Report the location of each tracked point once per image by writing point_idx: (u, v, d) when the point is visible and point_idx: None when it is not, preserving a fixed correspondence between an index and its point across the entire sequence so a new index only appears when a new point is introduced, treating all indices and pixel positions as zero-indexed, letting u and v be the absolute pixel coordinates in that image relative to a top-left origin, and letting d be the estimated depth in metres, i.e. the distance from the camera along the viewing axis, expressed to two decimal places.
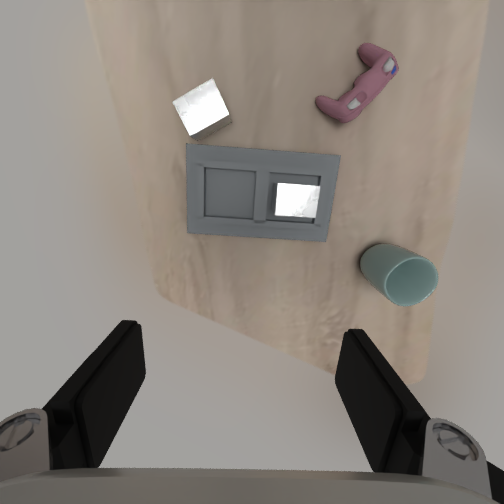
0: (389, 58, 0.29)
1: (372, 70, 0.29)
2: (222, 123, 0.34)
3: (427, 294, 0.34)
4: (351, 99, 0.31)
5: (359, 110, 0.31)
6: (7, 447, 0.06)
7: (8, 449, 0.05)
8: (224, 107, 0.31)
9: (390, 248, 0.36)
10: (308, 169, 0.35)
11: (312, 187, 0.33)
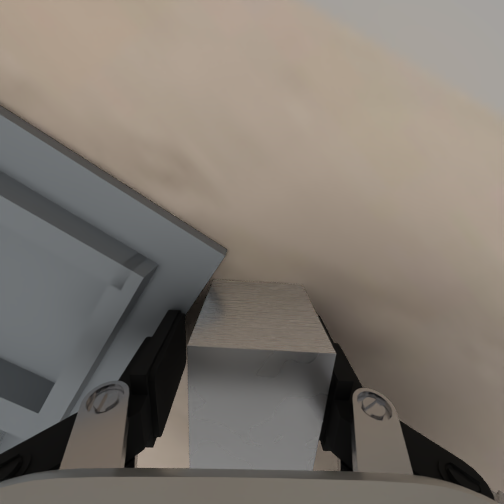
0: None
1: None
2: None
3: None
4: None
5: None
6: (99, 409, 0.07)
7: (99, 412, 0.06)
8: None
9: None
10: None
11: None
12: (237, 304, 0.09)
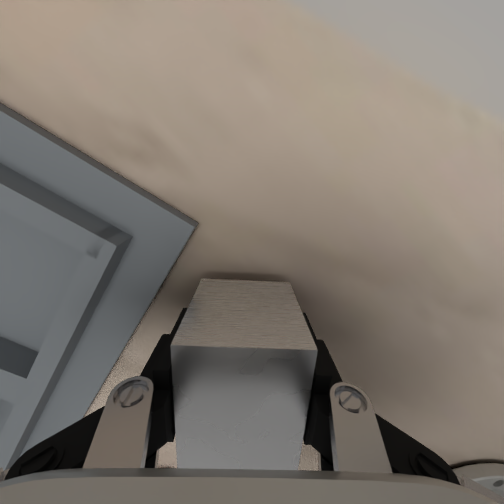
0: None
1: None
2: None
3: None
4: None
5: None
6: (125, 402, 0.07)
7: (124, 406, 0.07)
8: None
9: None
10: None
11: None
12: (223, 303, 0.10)
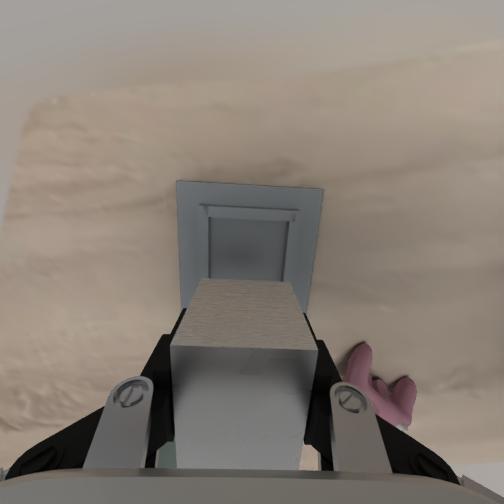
0: (406, 428, 0.26)
1: (398, 416, 0.25)
2: None
3: None
4: (371, 400, 0.25)
5: None
6: (124, 403, 0.07)
7: (124, 406, 0.07)
8: None
9: None
10: None
11: None
12: (223, 302, 0.10)
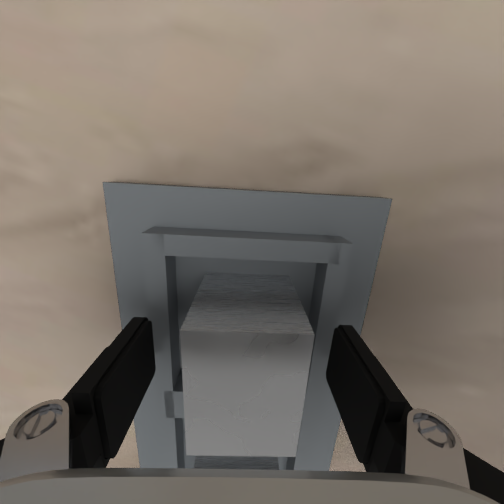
0: None
1: None
2: None
3: None
4: None
5: None
6: (31, 435, 0.06)
7: (32, 437, 0.06)
8: (209, 452, 0.09)
9: None
10: None
11: None
12: (227, 294, 0.10)
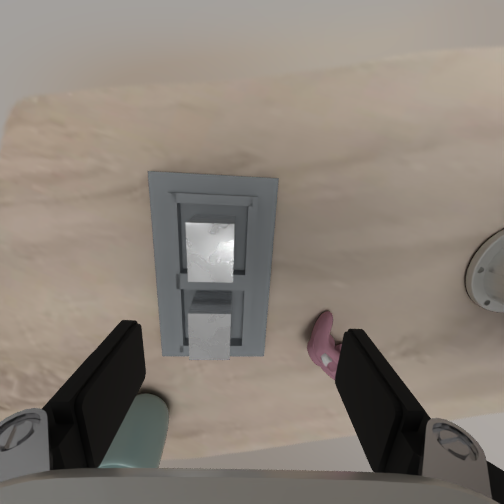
0: None
1: None
2: None
3: None
4: (330, 357, 0.29)
5: (319, 365, 0.29)
6: (6, 447, 0.06)
7: (8, 449, 0.05)
8: (197, 280, 0.23)
9: (161, 435, 0.30)
10: (248, 332, 0.30)
11: (227, 352, 0.26)
12: (204, 218, 0.24)
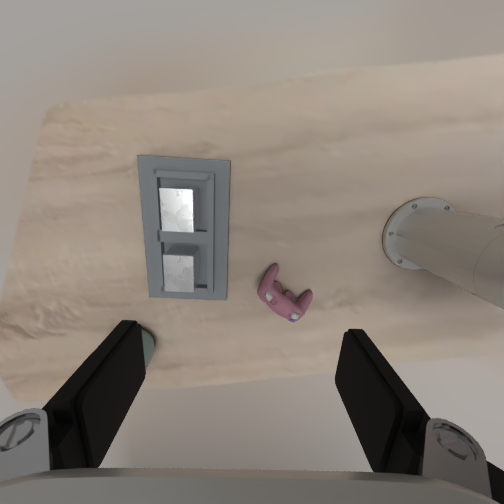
0: (299, 315, 0.39)
1: (291, 306, 0.38)
2: None
3: None
4: (272, 294, 0.38)
5: (265, 301, 0.39)
6: (6, 447, 0.06)
7: (8, 449, 0.05)
8: (168, 230, 0.33)
9: (147, 354, 0.41)
10: (211, 277, 0.40)
11: (192, 286, 0.36)
12: (174, 187, 0.34)
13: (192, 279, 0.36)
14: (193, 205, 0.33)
